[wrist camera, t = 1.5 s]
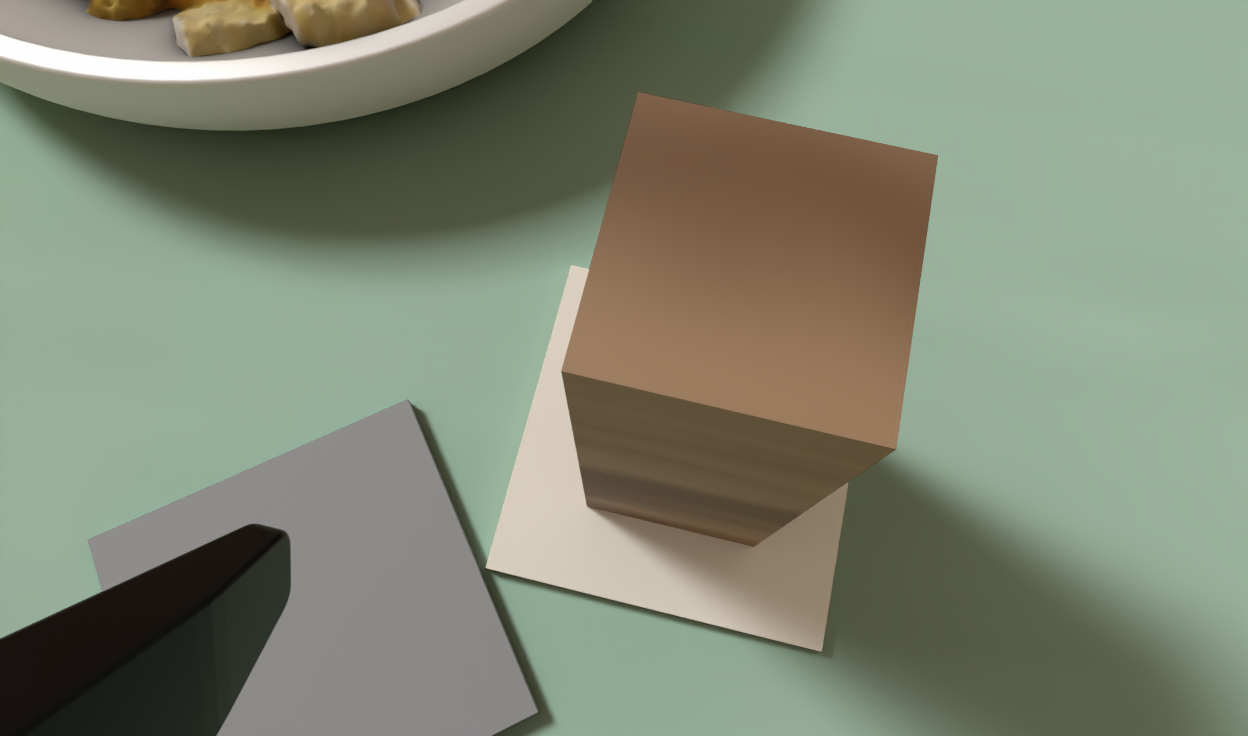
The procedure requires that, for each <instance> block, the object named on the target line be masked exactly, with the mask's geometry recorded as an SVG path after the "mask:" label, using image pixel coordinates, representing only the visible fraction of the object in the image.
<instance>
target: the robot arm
mask: <svg viewBox="0 0 1248 736" xmlns="http://www.w3.org/2000/svg"><path fill="white" fill-rule="evenodd" d="M290 590H291V542H290V537H289V535H288V533H287V532H286V531H284V530H282V529H278V528H274V527H270V526H266V525H262V524H256V523H253V524H248V525H246V526H243V527H241V528H239V529H237V530H234V531H232V532H230V533H228V534H226V535H224V536H221V537H219V538H217V539H215V540H213V541H211V542H208V543H206V544H204V545H202V546H200V547H198V548H195V549H193V550H191V551H189V552H187V553H185V554H182V555H180V556H178V557H176V558H174V559H172V560H169V561H167V562H165V563H163V564H161V565H159V566H156V567H154V568H152V569H150V570H148V571H146V572H143V573H141V574H139V575H137V576H135V577H133V578H130V579H128V580H126V581H124V582H122V583H120V584H117V585H115V586H113V587H111V588H109V589H107V590H105V591H102V592H100V593H98V594H96V595H94V596H92V597H89V598H87V599H85V600H83V601H81V602H79V603H76V604H74V605H72V606H70V607H68V608H66V609H63V610H61V611H59V612H57V613H55V614H53V615H50V616H48V617H46V618H44V619H42V620H40V621H37V622H35V623H33V624H31V625H29V626H27V627H24V628H22V629H20V630H18V631H16V632H14V633H11V634H9V635H7V636H5V637H3V638H1V639H0V736H217V734H218V732H219V731H220V729H221V727H222V726H223V724H224V722H225V720H226V718H227V717H228V715H229V713H230V711H231V709H232V708H233V706H234V704H235V702H236V700H237V698H238V696H239V694H240V692H241V690H242V689H243V687H244V685H245V683H246V681H247V679H248V677H249V675H250V673H251V672H252V670H253V668H254V666H255V664H256V662H257V660H258V658H259V656H260V654H261V653H262V651H263V649H264V647H265V645H266V643H267V641H268V639H269V637H270V636H271V634H272V632H273V630H274V628H275V626H276V624H277V622H278V620H279V619H280V617H281V615H282V613H283V611H284V609H285V607H286V604H287V602H288V599H289V595H290Z"/></svg>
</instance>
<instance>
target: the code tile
mask: <svg viewBox="0 0 1248 736" xmlns="http://www.w3.org/2000/svg"><path fill="white" fill-rule="evenodd" d="M588 272H589V269H586V268H581V267H577V266H572V265H571V268H570V271H569V275H568V279H567V282H566V286H565V289H564V293H563V296H562V300H561V303H560V307H559V310H558V314H557V317H556V321H555V324H554V328H553V331H552V335H551V339H550V342H549V346H548V349H547V353H546V356H545V360H544V363H543V367H542V370H541V374H540V377H539V381H538V384H537V388H536V391H535V395H534V399H533V402H532V406H531V409H530V413H529V416H528V420H527V423H526V427H525V430H524V434H523V437H522V441H521V444H520V448H519V451H518V455H517V459H516V462H515V466H514V469H513V473H512V476H511V480H510V483H509V487H508V490H507V494H506V497H505V501H504V504H503V508H502V511H501V515H500V519H499V522H498V526H497V529H496V533H495V536H494V540H493V543H492V547H491V550H490V554H489V557H488V561H487V564H486V569H489V570H493V571H497V572H501V573H506V574H510V575H514V576H518V577H522V578H526V579H530V580H534V581H538V582H542V583H546V584H550V585H554V586H558V587H562V588H566V589H570V590H574V591H578V592H582V593H586V594H590V595H594V596H598V597H602V598H606V599H610V600H614V601H618V602H622V603H626V604H630V605H634V606H638V607H642V608H646V609H650V610H654V611H658V612H662V613H666V614H670V615H674V616H678V617H682V618H686V619H690V620H695V621H699V622H703V623H707V624H711V625H715V626H719V627H723V628H727V629H731V630H735V631H739V632H743V633H747V634H751V635H755V636H759V637H763V638H767V639H771V640H775V641H779V642H783V643H787V644H791V645H795V646H799V647H803V648H807V649H811V650H815V651H819V652H822V648H823V641H824V635H825V629H826V622H827V616H828V610H829V603H830V597H831V591H832V584H833V578H834V572H835V566H836V559H837V553H838V547H839V540H840V534H841V528H842V521H843V515H844V509H845V503H846V496H847V490H848V484H849V482H848V483H846V484H845V485H843V486H842V487H840V488H839V489H837V490H836V491H835V492H833V493H832V494H830V495H829V496H827V497H826V498H824V499H823V500H821V501H820V502H819V503H817V504H816V505H814V506H813V507H811V508H810V509H808V510H807V511H805V512H804V513H803V514H801V515H800V516H798V517H797V518H795V519H794V520H792V521H791V522H789V523H788V524H787V525H785V526H784V527H782V528H781V529H779V530H778V531H776V532H775V533H773V534H772V535H771V536H769V537H768V538H766V539H765V540H763V541H762V542H760V543H759V544H757V545H756V546H755V547H752V546H748V545H744V544H740V543H736V542H732V541H728V540H723V539H719V538H715V537H711V536H707V535H703V534H699V533H695V532H690V531H686V530H682V529H678V528H674V527H670V526H666V525H662V524H657V523H653V522H649V521H645V520H641V519H637V518H633V517H628V516H624V515H620V514H616V513H612V512H608V511H604V510H600V509H595V508H591V507H587V505H586V499H585V494H584V489H583V484H582V478H581V473H580V468H579V463H578V457H577V452H576V447H575V442H574V436H573V431H572V426H571V421H570V415H569V410H568V405H567V399H566V394H565V389H564V384H563V378H562V373H561V370H562V366H563V362H564V359H565V355H566V352H567V348H568V344H569V341H570V337H571V333H572V330H573V326H574V323H575V319H576V315H577V312H578V308H579V304H580V301H581V297H582V294H583V290H584V286H585V283H586V279H587V275H588Z"/></svg>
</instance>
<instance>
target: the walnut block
mask: <svg viewBox="0 0 1248 736" xmlns="http://www.w3.org/2000/svg"><path fill="white" fill-rule="evenodd" d="M937 159H938V155H934V154H929V153H924V152H920V151H915V150H910V149H905V148H901V147H896V146H891V145H887V144H882V143H877V142H872V141H868V140H863V139H858V138H853V137H849V136H844V135H839V134H834V133H830V132H825V131H820V130H816V129H811V128H806V127H801V126H797V125H792V124H787V123H782V122H778V121H773V120H768V119H763V118H759V117H754V116H749V115H744V114H740V113H735V112H730V111H726V110H721V109H716V108H711V107H707V106H702V105H697V104H692V103H688V102H683V101H678V100H673V99H669V98H664V97H659V96H655V95H650V94H645V93H640V92H638V94H637V98H636V101H635V105H634V109H633V112H632V116H631V119H630V123H629V127H628V130H627V134H626V138H625V141H624V145H623V148H622V152H621V156H620V159H619V163H618V167H617V170H616V174H615V177H614V181H613V185H612V188H611V192H610V196H609V199H608V203H607V207H606V210H605V214H604V217H603V221H602V225H601V228H600V232H599V236H598V239H597V243H596V246H595V250H594V254H593V257H592V261H591V265H590V268H589V272H588V275H587V279H586V283H585V286H584V290H583V294H582V297H581V301H580V304H579V308H578V312H577V315H576V319H575V323H574V326H573V330H572V333H571V337H570V341H569V344H568V348H567V352H566V355H565V359H564V362H563V366H562V370H561V373H562V378H563V384H564V389H565V394H566V399H567V405H568V410H569V415H570V421H571V426H572V431H573V436H574V442H575V447H576V452H577V457H578V463H579V468H580V473H581V478H582V484H583V489H584V494H585V499H586V505H587V507H591V508H595V509H600V510H604V511H608V512H612V513H616V514H620V515H624V516H628V517H633V518H637V519H641V520H645V521H649V522H653V523H657V524H662V525H666V526H670V527H674V528H678V529H682V530H686V531H690V532H695V533H699V534H703V535H707V536H711V537H715V538H719V539H723V540H728V541H732V542H736V543H740V544H744V545H748V546H752V547H755V546H756V545H757V544H759V543H760V542H762V541H763V540H765V539H766V538H768V537H769V536H771V535H772V534H773V533H775V532H776V531H778V530H779V529H781V528H782V527H784V526H785V525H787V524H788V523H789V522H791V521H792V520H794V519H795V518H797V517H798V516H800V515H801V514H803V513H804V512H805V511H807V510H808V509H810V508H811V507H813V506H814V505H816V504H817V503H819V502H820V501H821V500H823V499H824V498H826V497H827V496H829V495H830V494H832V493H833V492H835V491H836V490H837V489H839V488H840V487H842V486H843V485H845V484H846V483H848V482H849V481H851V480H852V479H853V478H855V477H856V476H858V475H859V474H861V473H862V472H864V471H865V470H866V469H868V468H869V467H871V466H872V465H874V464H875V463H877V462H878V461H880V460H881V459H882V458H884V457H885V456H887V455H888V454H890V453H891V452H893V451H894V450H896V446H897V439H898V432H899V425H900V418H901V411H902V404H903V397H904V390H905V383H906V376H907V369H908V362H909V355H910V348H911V341H912V334H913V327H914V320H915V313H916V306H917V299H918V292H919V285H920V278H921V271H922V264H923V257H924V250H925V243H926V236H927V229H928V222H929V215H930V208H931V201H932V194H933V187H934V180H935V173H936V166H937Z"/></svg>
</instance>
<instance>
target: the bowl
mask: <svg viewBox="0 0 1248 736" xmlns="http://www.w3.org/2000/svg"><path fill="white" fill-rule="evenodd" d="M592 1H593V0H0V83H3V84H5V85H8V86H10V87H13V88H16V89H18V90H21V91H23V92H26V93H28V94H31V95H33V96H36V97H39V98H41V99H44V100H48V101H51V102H54V103H57V104H60V105H63V106H66V107H69V108H73V109H77V110H81V111H85V112H89V113H93V114H97V115H101V116H105V117H109V118H114V119H119V120H125V121H130V122H135V123H141V124H149V125H157V126H165V127H173V128H184V129H199V130H231V131H247V130H268V129H282V128H292V127H301V126H310V125H316V124H323V123H329V122H335V121H341V120H346V119H351V118H355V117H360V116H365V115H369V114H374V113H377V112H381V111H385V110H388V109H392V108H395V107H399V106H403V105H406V104H409V103H412V102H415V101H418V100H421V99H424V98H427V97H430V96H432V95H435V94H437V93H440V92H443V91H445V90H448V89H450V88H453V87H455V86H458V85H460V84H462V83H464V82H466V81H469V80H471V79H473V78H475V77H477V76H479V75H482V74H484V73H486V72H488V71H490V70H492V69H494V68H496V67H497V66H499V65H501V64H503V63H505V62H507V61H509V60H510V59H512V58H514V57H516V56H518V55H519V54H521V53H522V52H524V51H526V50H527V49H529V48H531V47H532V46H534V45H535V44H537V43H539V42H540V41H542V40H543V39H545V38H546V37H547V36H549V35H550V34H552V33H553V32H555V31H556V30H557V29H559V28H560V27H562V26H563V25H564V24H566V23H567V22H568V21H569V20H571V19H572V18H573V17H574V16H576V15H577V14H578V13H579V12H581V11H582V10H583V9H584V8H585V7H587V6H588V5H589V4H590V3H591V2H592Z"/></svg>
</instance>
